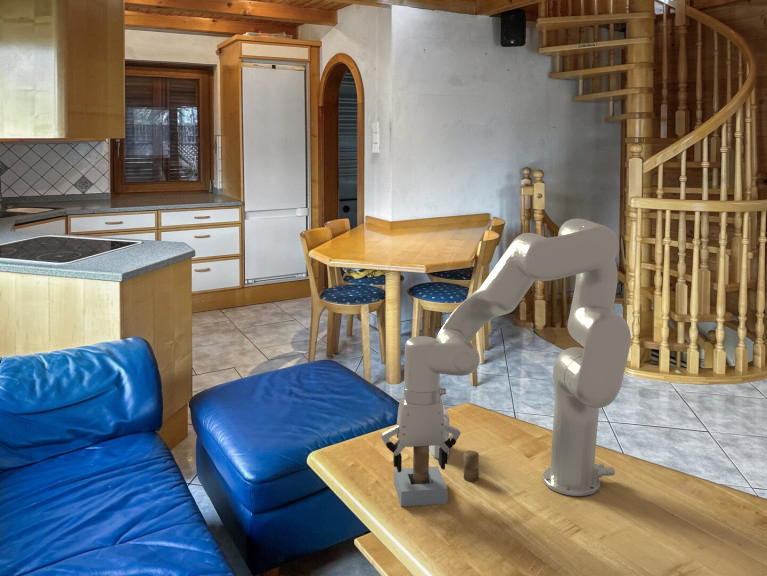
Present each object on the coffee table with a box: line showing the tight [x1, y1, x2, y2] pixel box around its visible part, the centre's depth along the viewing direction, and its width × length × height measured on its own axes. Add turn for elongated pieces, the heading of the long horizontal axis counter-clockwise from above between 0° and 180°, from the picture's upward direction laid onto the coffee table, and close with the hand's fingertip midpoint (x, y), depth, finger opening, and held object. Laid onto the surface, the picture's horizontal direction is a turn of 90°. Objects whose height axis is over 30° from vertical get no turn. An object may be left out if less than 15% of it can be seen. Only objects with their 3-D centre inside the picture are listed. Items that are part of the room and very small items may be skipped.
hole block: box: [393, 465, 448, 507], centre depth 150 cm, size 10×10×4 cm
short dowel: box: [463, 450, 480, 482], centre depth 157 cm, size 3×3×6 cm
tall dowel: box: [412, 446, 430, 485], centre depth 149 cm, size 3×3×12 cm
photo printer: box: [429, 405, 450, 460], centre depth 170 cm, size 10×4×12 cm, turn 12°
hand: (420, 468), depth 149 cm, fingers open, 9 cm apart
